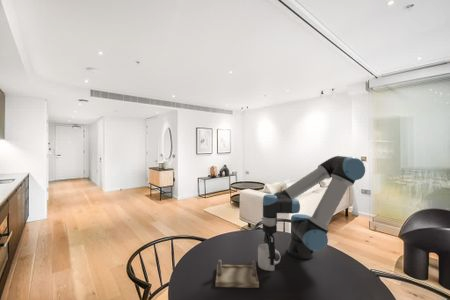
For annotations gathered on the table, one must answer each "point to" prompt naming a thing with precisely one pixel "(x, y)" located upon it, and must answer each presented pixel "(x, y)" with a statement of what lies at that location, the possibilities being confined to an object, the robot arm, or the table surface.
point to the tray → (237, 275)
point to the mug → (265, 256)
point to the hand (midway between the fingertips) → (268, 262)
